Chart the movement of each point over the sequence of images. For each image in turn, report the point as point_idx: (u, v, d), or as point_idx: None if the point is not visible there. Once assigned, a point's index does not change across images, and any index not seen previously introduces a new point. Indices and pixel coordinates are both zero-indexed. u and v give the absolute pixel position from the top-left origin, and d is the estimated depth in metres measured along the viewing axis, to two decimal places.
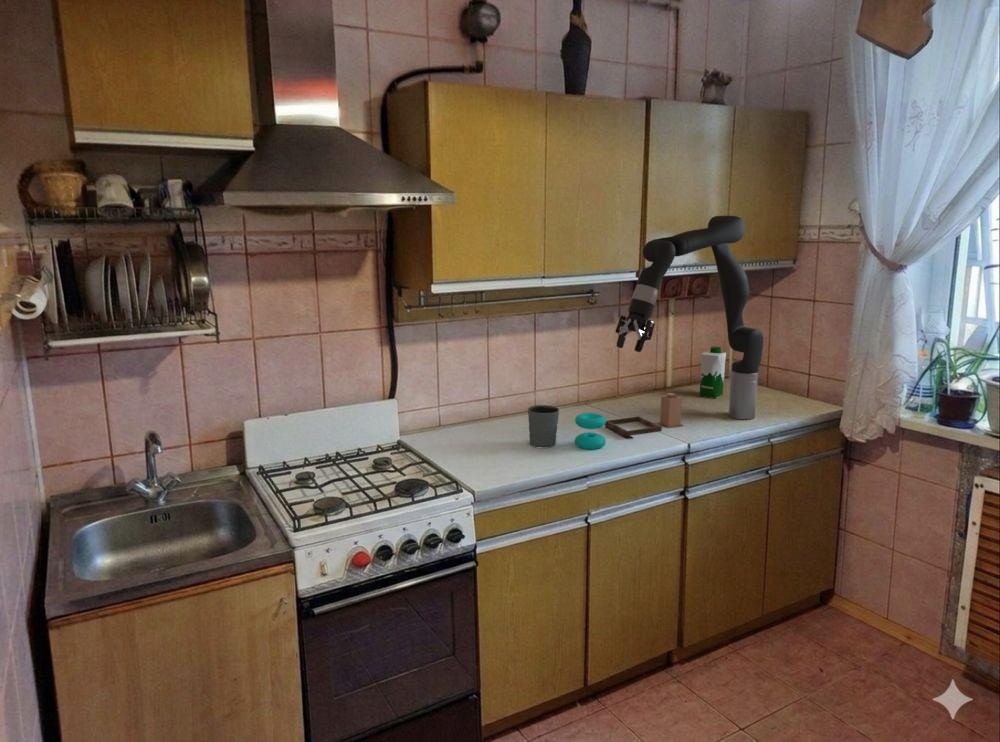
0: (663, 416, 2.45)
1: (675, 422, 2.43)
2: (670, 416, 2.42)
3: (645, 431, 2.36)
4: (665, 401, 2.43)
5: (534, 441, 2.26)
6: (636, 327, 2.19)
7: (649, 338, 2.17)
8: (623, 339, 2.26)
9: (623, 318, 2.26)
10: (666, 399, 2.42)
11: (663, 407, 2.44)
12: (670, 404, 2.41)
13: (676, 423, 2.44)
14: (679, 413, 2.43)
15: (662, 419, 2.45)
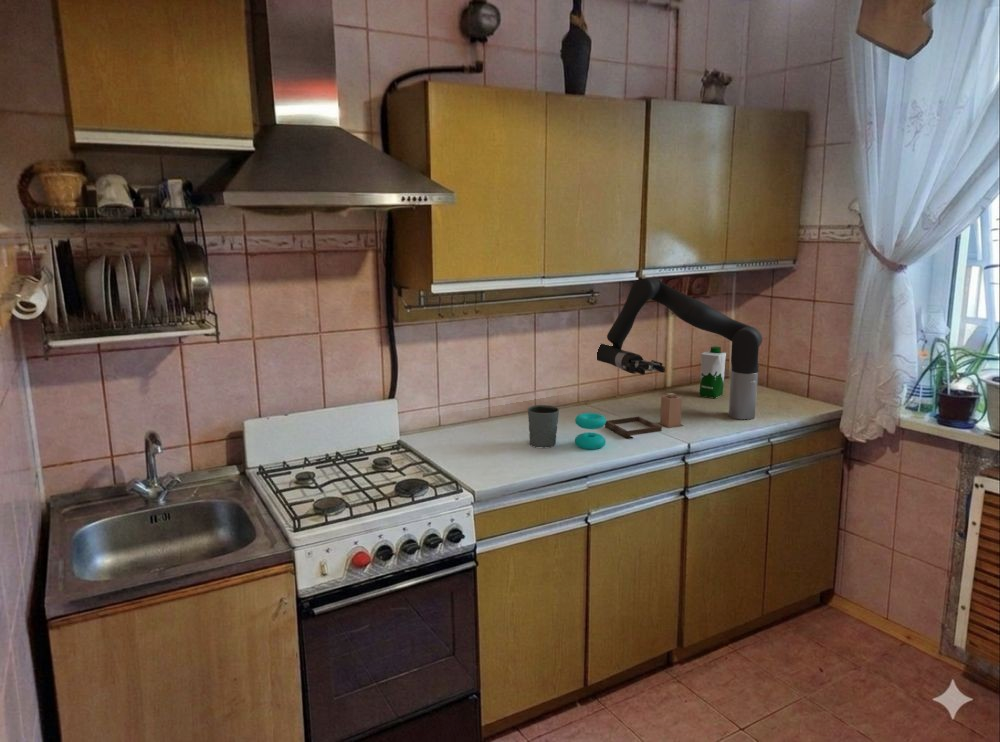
0: (663, 416, 2.45)
1: (675, 422, 2.43)
2: (670, 416, 2.42)
3: (645, 431, 2.36)
4: (665, 401, 2.43)
5: (534, 441, 2.26)
6: None
7: (630, 367, 2.53)
8: (658, 367, 2.56)
9: None
10: (666, 399, 2.42)
11: (663, 407, 2.44)
12: (670, 404, 2.41)
13: (676, 423, 2.44)
14: (679, 413, 2.43)
15: (662, 419, 2.45)
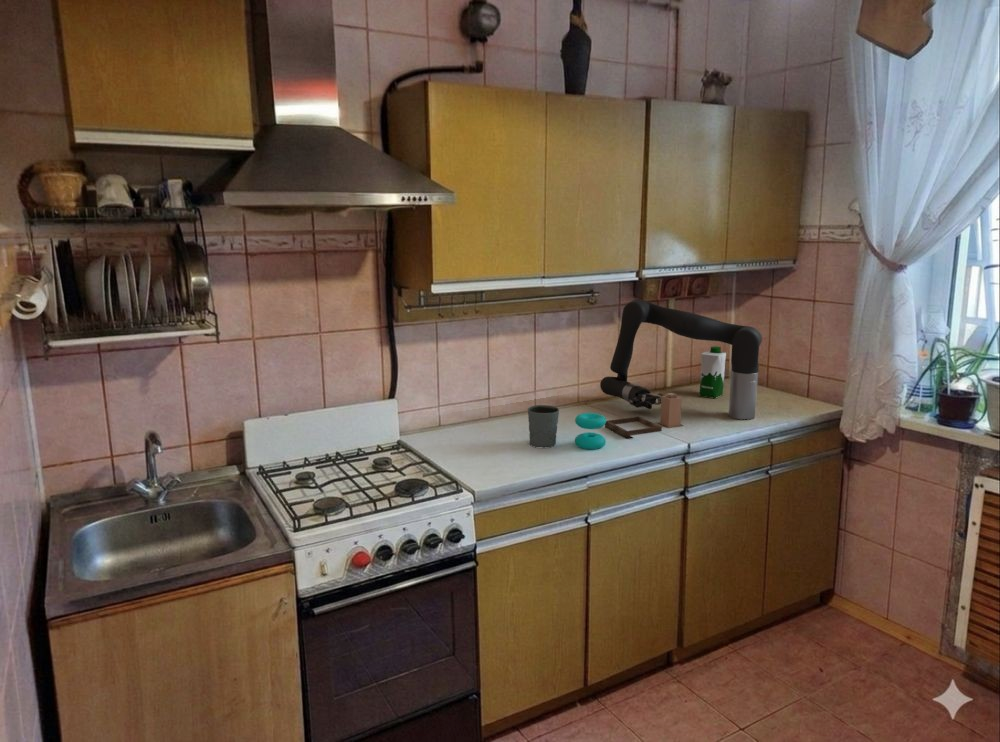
0: (663, 416, 2.45)
1: (675, 422, 2.43)
2: (670, 416, 2.42)
3: (645, 431, 2.36)
4: (665, 401, 2.43)
5: (534, 441, 2.26)
6: None
7: (636, 402, 2.52)
8: None
9: None
10: (666, 399, 2.42)
11: (663, 407, 2.44)
12: (670, 404, 2.41)
13: (676, 423, 2.44)
14: (679, 413, 2.43)
15: (662, 419, 2.45)
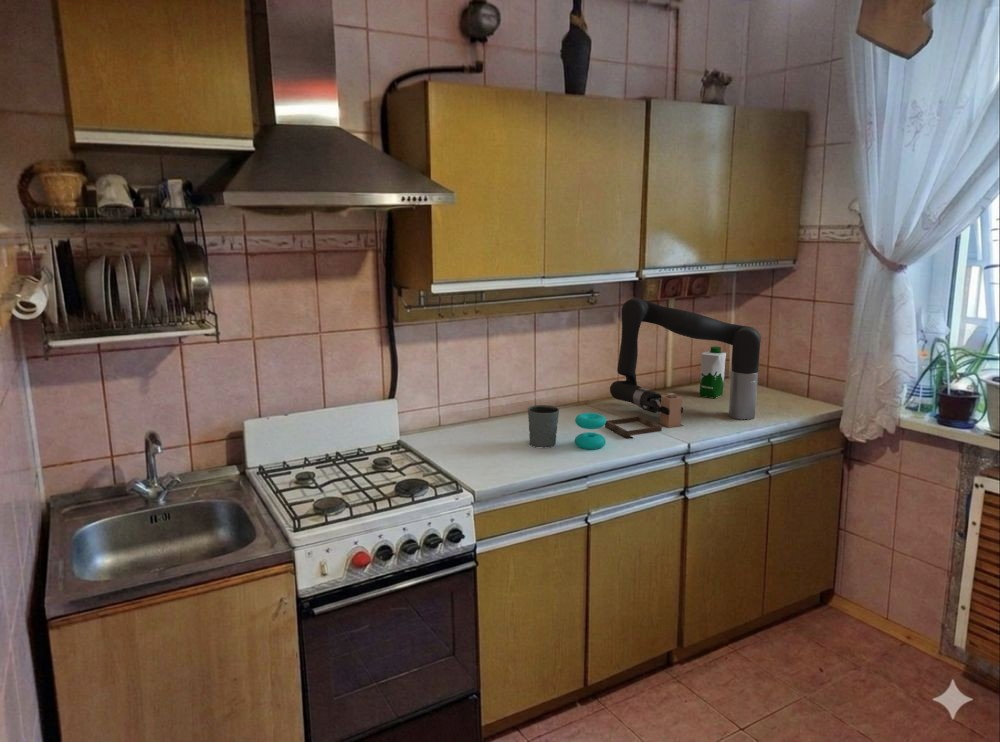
0: (663, 416, 2.45)
1: (675, 422, 2.43)
2: (670, 416, 2.42)
3: (645, 431, 2.36)
4: (665, 401, 2.43)
5: (534, 441, 2.26)
6: None
7: (653, 407, 2.44)
8: None
9: None
10: (666, 399, 2.42)
11: None
12: (670, 404, 2.41)
13: (676, 423, 2.44)
14: (679, 413, 2.43)
15: (662, 419, 2.45)
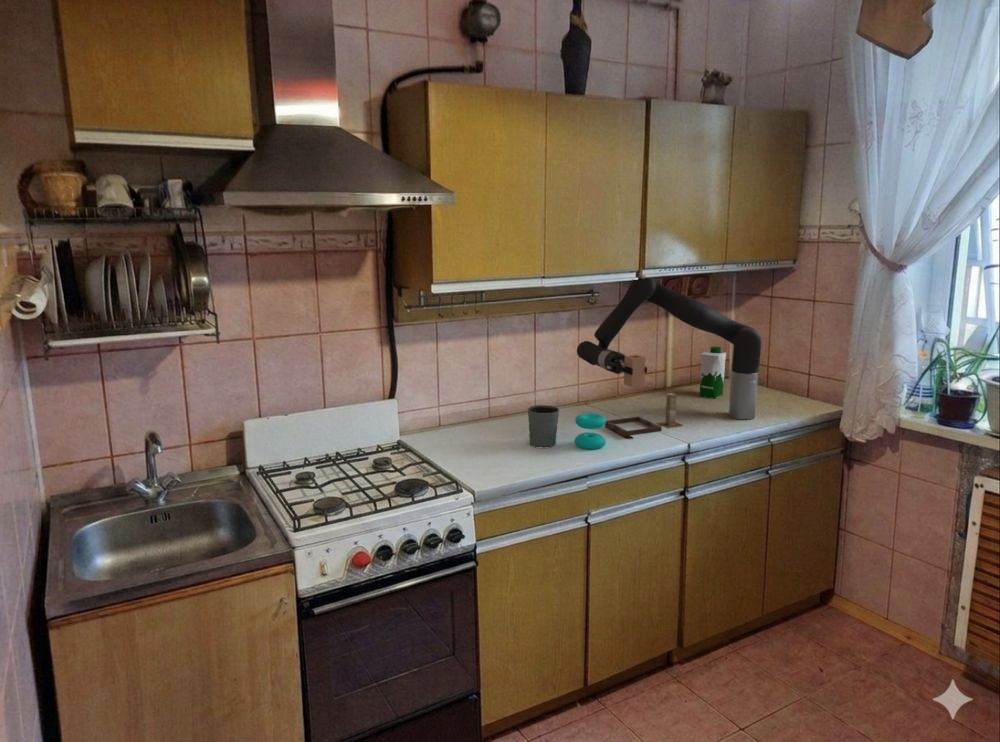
0: (626, 376, 2.38)
1: (639, 382, 2.36)
2: (633, 376, 2.35)
3: (645, 431, 2.36)
4: (629, 360, 2.36)
5: (534, 441, 2.26)
6: None
7: (617, 367, 2.37)
8: None
9: None
10: (629, 358, 2.35)
11: None
12: (633, 363, 2.34)
13: (639, 383, 2.37)
14: (643, 373, 2.36)
15: (626, 380, 2.38)
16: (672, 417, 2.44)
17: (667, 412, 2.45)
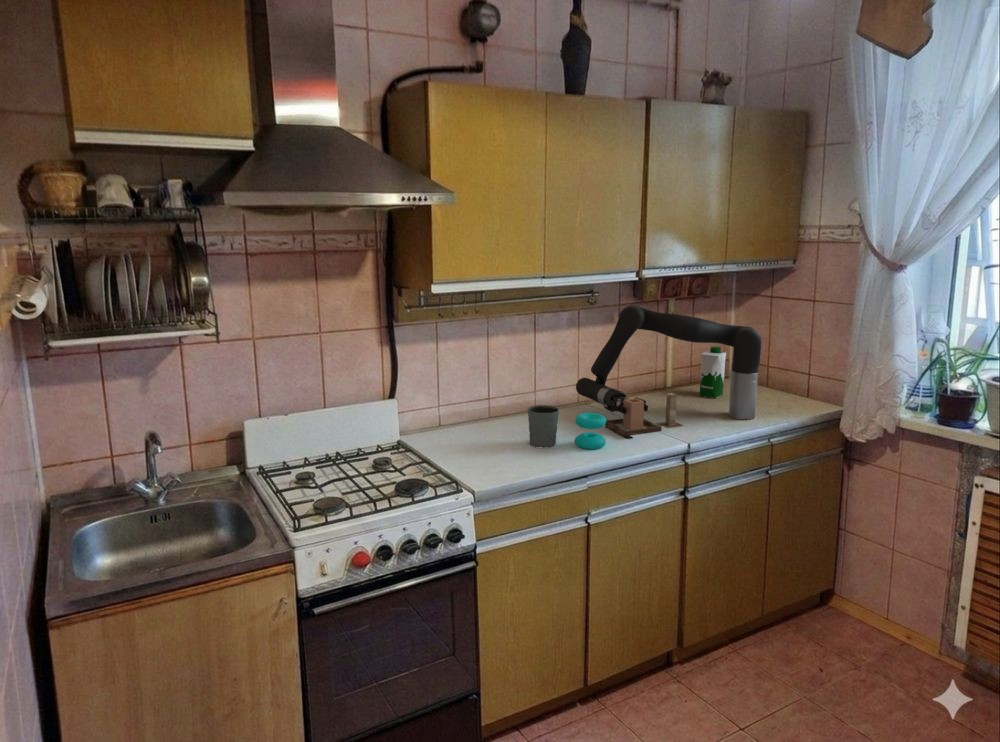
0: (625, 420, 2.41)
1: (637, 426, 2.40)
2: (632, 420, 2.38)
3: (645, 431, 2.36)
4: (628, 405, 2.39)
5: (534, 441, 2.26)
6: None
7: (611, 406, 2.41)
8: None
9: None
10: (628, 403, 2.39)
11: None
12: (632, 408, 2.37)
13: (638, 427, 2.40)
14: (641, 417, 2.40)
15: (625, 423, 2.42)
16: (672, 417, 2.44)
17: (667, 412, 2.45)
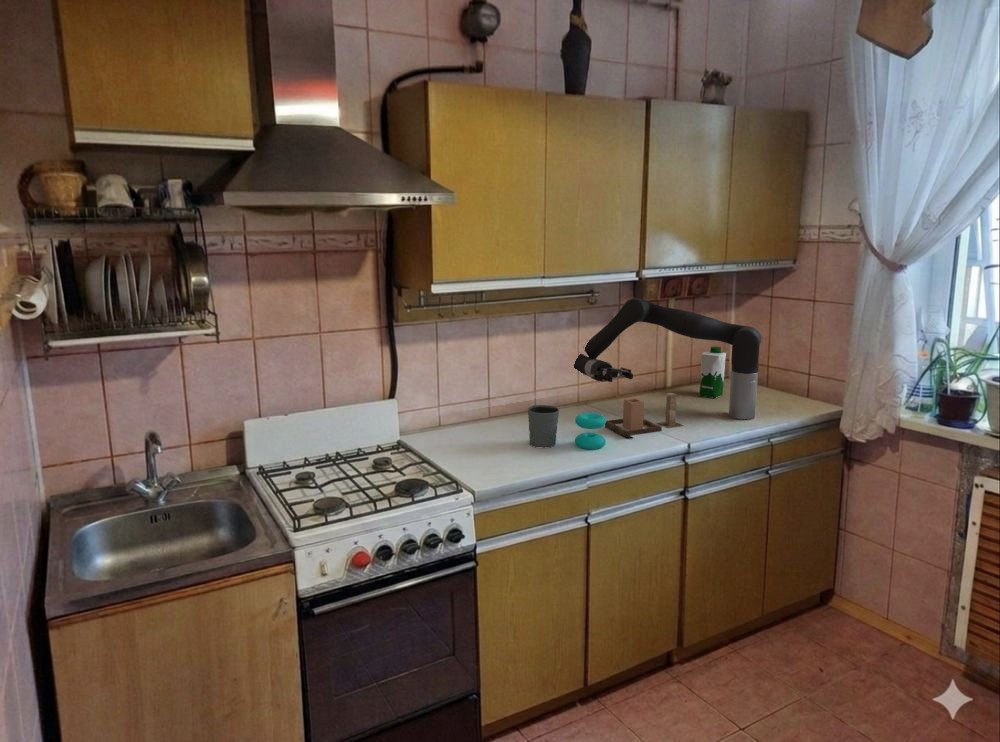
0: (625, 420, 2.41)
1: (637, 426, 2.40)
2: (632, 420, 2.38)
3: (645, 431, 2.36)
4: (628, 405, 2.39)
5: (534, 441, 2.26)
6: None
7: (597, 375, 2.51)
8: (626, 373, 2.53)
9: None
10: (628, 403, 2.39)
11: (625, 411, 2.41)
12: (632, 408, 2.37)
13: (638, 427, 2.40)
14: (641, 417, 2.40)
15: (625, 423, 2.42)
16: (672, 417, 2.44)
17: (667, 412, 2.45)
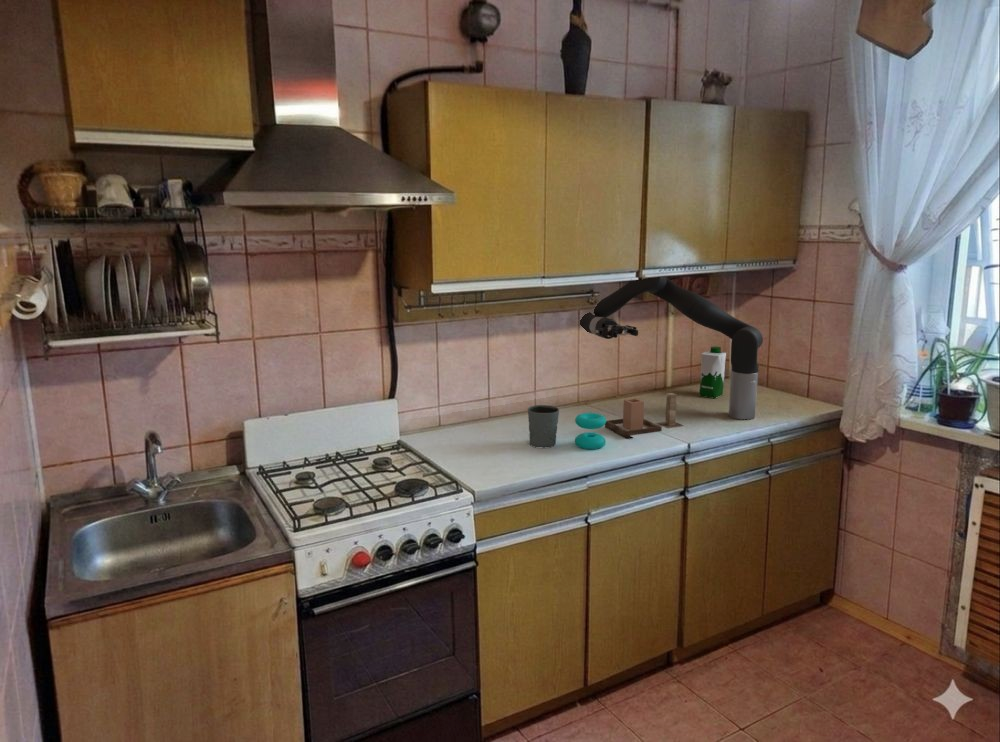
0: (625, 420, 2.41)
1: (637, 426, 2.40)
2: (632, 420, 2.38)
3: (645, 431, 2.36)
4: (628, 405, 2.39)
5: (534, 441, 2.26)
6: None
7: (602, 331, 2.49)
8: (631, 330, 2.52)
9: None
10: (628, 403, 2.39)
11: (625, 411, 2.41)
12: (632, 408, 2.37)
13: (638, 427, 2.40)
14: (641, 417, 2.40)
15: (625, 423, 2.42)
16: (672, 417, 2.44)
17: (667, 412, 2.45)
